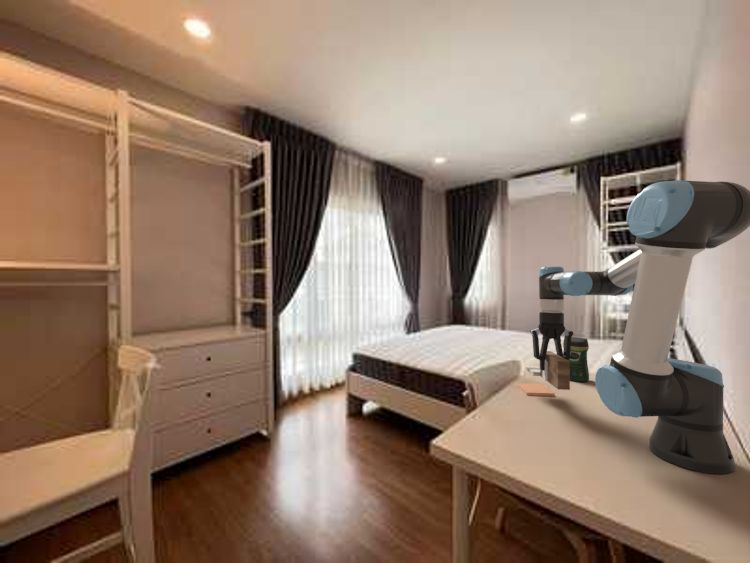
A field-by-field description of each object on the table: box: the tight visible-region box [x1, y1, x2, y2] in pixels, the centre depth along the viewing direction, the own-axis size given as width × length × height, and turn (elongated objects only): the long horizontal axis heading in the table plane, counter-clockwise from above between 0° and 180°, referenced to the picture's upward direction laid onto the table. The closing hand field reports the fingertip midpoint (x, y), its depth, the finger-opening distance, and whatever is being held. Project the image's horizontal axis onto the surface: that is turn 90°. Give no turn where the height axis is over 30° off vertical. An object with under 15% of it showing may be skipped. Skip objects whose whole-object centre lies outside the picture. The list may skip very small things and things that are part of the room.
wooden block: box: [524, 350, 571, 391], centre depth 120 cm, size 26×8×9 cm, turn 172°
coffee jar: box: [562, 336, 590, 383], centre depth 150 cm, size 10×8×19 cm
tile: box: [516, 382, 555, 397], centre depth 134 cm, size 2×10×12 cm
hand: (551, 379), depth 117 cm, fingers closed on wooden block, 3 cm apart
